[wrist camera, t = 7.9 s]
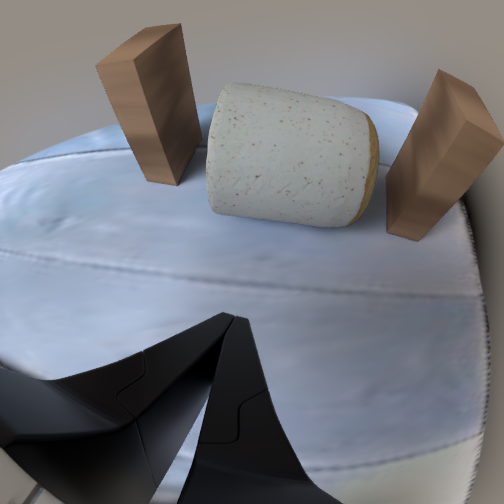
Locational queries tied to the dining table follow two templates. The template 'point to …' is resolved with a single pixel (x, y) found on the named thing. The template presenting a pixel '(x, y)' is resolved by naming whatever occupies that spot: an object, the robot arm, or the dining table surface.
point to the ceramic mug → (290, 157)
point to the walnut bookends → (397, 180)
